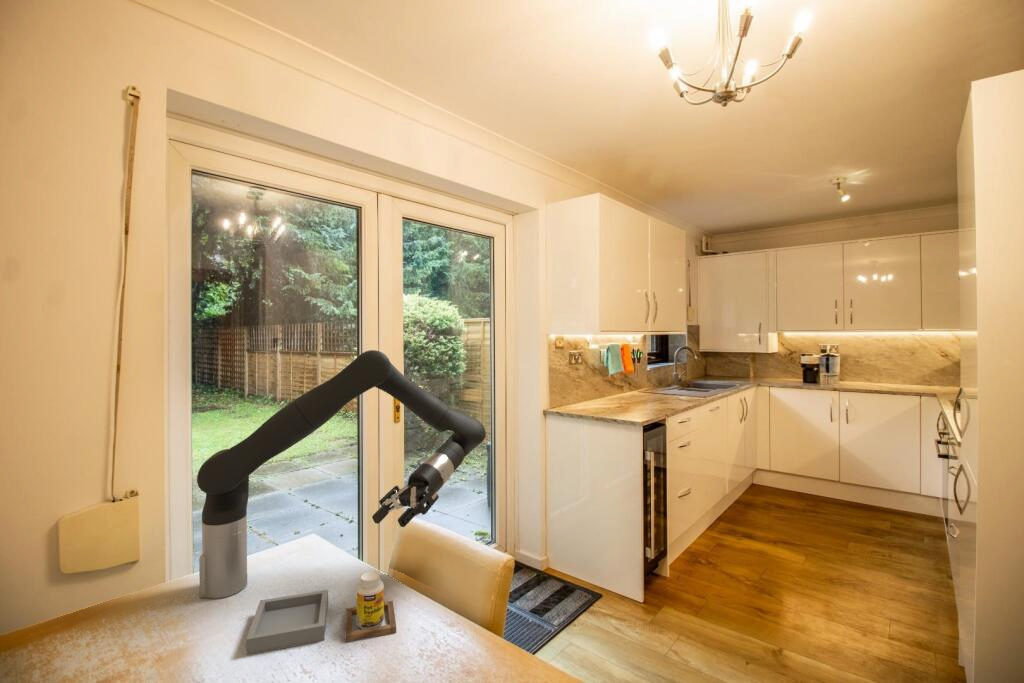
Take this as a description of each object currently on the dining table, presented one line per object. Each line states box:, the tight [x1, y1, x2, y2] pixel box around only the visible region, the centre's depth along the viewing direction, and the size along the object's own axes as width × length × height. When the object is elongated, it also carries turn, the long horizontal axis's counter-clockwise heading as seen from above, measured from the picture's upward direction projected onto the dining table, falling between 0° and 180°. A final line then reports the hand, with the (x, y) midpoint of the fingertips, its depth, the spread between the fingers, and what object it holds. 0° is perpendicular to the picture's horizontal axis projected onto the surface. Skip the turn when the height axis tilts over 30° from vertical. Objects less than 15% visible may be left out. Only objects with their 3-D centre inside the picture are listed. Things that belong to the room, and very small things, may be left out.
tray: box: [245, 589, 329, 656], centre depth 99 cm, size 14×14×3 cm
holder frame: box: [344, 600, 397, 643], centre depth 101 cm, size 10×10×1 cm
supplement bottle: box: [356, 570, 385, 630], centre depth 100 cm, size 6×6×10 cm
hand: (387, 522), depth 103 cm, fingers open, 8 cm apart
